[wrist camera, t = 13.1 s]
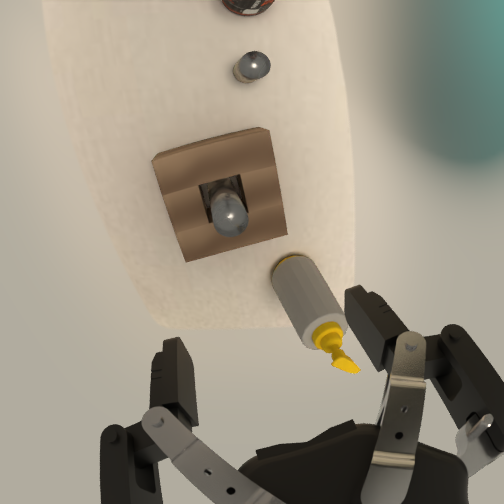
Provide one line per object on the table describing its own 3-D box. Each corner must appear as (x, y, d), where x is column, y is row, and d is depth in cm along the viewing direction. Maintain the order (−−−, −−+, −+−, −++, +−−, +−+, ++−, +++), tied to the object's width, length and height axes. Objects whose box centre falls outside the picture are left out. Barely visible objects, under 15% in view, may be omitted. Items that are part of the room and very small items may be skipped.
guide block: (157, 153, 30) (151, 161, 26) (258, 127, 31) (269, 130, 27) (186, 242, 36) (185, 262, 32) (276, 218, 37) (287, 234, 33)
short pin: (230, 61, 27) (237, 53, 22) (256, 57, 27) (267, 49, 22) (236, 85, 28) (243, 81, 24) (261, 80, 28) (273, 76, 24)
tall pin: (204, 178, 33) (209, 209, 23) (229, 171, 33) (244, 200, 23) (210, 201, 34) (218, 241, 25) (234, 194, 34) (251, 231, 25)
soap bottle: (291, 298, 44) (336, 390, 29) (259, 277, 41) (298, 377, 25) (323, 267, 42) (383, 352, 27) (292, 242, 39) (352, 332, 24)
